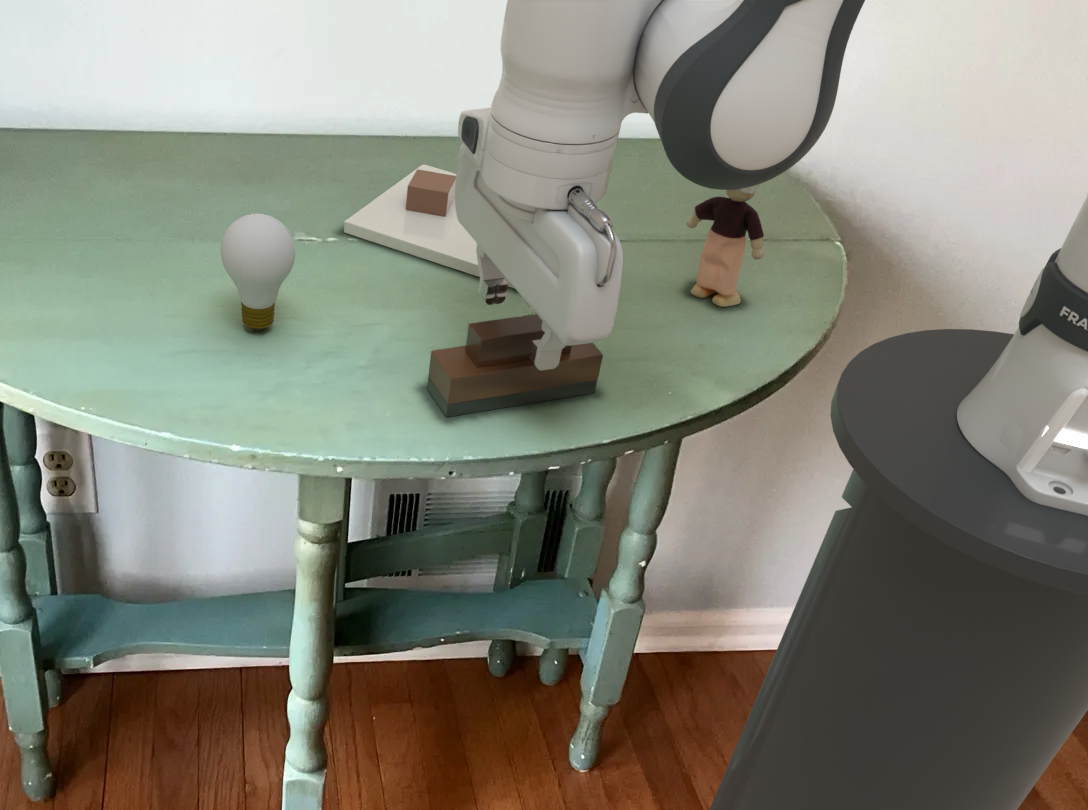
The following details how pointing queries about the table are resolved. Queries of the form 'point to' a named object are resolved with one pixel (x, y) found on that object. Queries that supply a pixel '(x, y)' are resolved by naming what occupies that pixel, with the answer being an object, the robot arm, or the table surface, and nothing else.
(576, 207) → the robot arm
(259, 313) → the light bulb
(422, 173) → the brown square block
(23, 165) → the table surface
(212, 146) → the table surface
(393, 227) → the tile
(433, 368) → the brush
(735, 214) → the grandmother figurine
